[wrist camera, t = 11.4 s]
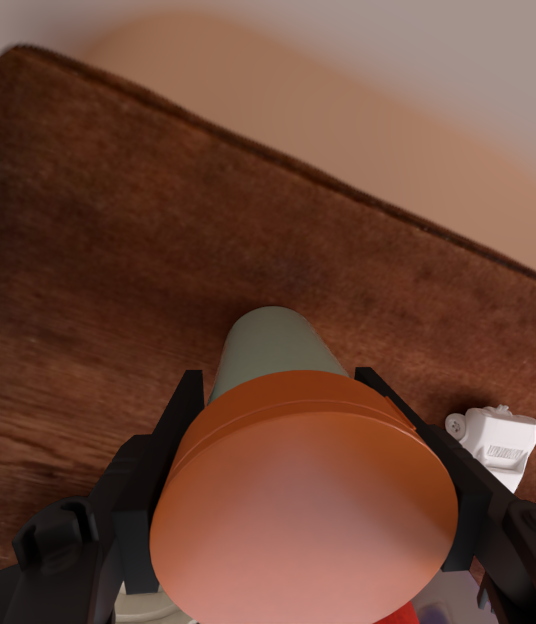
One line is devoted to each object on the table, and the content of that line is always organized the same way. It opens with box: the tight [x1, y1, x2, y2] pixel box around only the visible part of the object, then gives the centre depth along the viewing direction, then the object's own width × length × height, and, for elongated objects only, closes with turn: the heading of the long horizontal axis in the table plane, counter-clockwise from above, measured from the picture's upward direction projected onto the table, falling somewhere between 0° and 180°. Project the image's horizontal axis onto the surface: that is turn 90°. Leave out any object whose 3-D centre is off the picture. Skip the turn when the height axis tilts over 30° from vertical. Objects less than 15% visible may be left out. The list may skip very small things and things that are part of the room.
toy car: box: [445, 405, 536, 494], centre depth 19 cm, size 6×12×3 cm, turn 168°
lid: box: [149, 370, 458, 624], centre depth 7 cm, size 8×8×2 cm
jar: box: [207, 306, 352, 406], centre depth 12 cm, size 7×7×11 cm
